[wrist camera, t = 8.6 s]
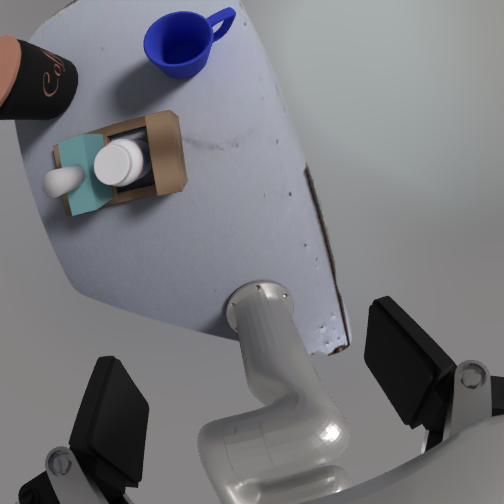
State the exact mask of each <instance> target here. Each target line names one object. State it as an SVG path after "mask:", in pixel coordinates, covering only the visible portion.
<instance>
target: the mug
mask: <svg viewBox="0 0 504 504" xmlns="http://www.w3.org/2000/svg"><path fill="white" fill-rule="evenodd" d="M235 16H236V12H235V11H234V10H233V9H232V8H230V7H228V8H226V9H223V10H221V11H219V12H217V13H215V14H213V15H211V16H210V17H208V18H207V19H205V18H204V17H203V16H201V15H199V14H197V13H193V12H187V11H180V12H174V13H170V14H168V15H165V16H163V17H161V18H160V19H158V20H157V21H156V22H154V23H153V24H152V25H151V27H150V28H149V29H148V31H147V33H146V35H145V38H144V51H145V53H146V55H147V57H148V58H149V59H150V60H151V61H152V62H153V63H154V64H155V65H157V66H158V67H159V68H160V69H161V70H163V71H164V72H165V73H166V74H167V75H169V76H171V77H174V78H180V79H183V78H189V77H192V76H194V75H196V74H197V73H199V72H200V71H201V70H202V69H203V68H204V66H205V65H206V62H207V60H208V56H209V53H210V49H211V46H212V43H213V42H215V41H217V40H218V39H220V38H221V37H223V36H224V35H225V34H226V33H227V31H228V30H229V28H230V27H231V25H232V23H233V21H234V18H235ZM223 20H224V21H223ZM221 21H223V24H222V25H221V27H220V28H219V29H218V30H217V31H216V32H215V33H214V34H213V29H212V27H213V26H214V25H216V24H217V23H219V22H221Z"/></svg>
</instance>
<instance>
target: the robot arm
mask: <svg viewBox="0 0 504 504" xmlns="http://www.w3.org/2000/svg"><path fill="white" fill-rule="evenodd" d="M257 285H258V286H257ZM293 311H294V303H293V299H292V297H291V295H290V293H289V291H288V290H287V289H286V288H285V287H283V286H282V285H280V284H278V283H276V282H272V281H264V280H261V281H254V282H251V283H248V284H246V285H244V286H242V287H241V288H239V289H238V290H236V291H235V293H234V294H233V295H232V296H231V297H230V299H229V301H228V304H227V307H226V316H227V321H228V323H229V325H230V327H231V328H232V329H233V330H234V331H235V332H237V333H238V336H239V342H240V347H241V352H242V358H243V364H244V369H245V374H246V379H247V384H248V387H249V389H250V391H251V392H252V394H253V395H254V396H255V397H256V398H257V399H258V400H259V401H260V402H262V403H263V404H264V405H266V407H263V408H260V409H257V410H254V411H250V412H246V413H243V414H239V415H234V416H230V417H226V418H222V419H218V420H214V421H212V422H209V423H207V424H206V425H204V426H203V427H202V428H201V429H200V431H199V433H198V438H197V445H198V452H199V456H200V459H201V462H202V465H203V467H204V469H205V472H206V474H207V476H208V478H209V480H210V482H211V484H212V486H213V488H214V490H215V492H216V494H217V496H218V498H219V500H220V502H221V504H504V377H498V376H490V373H489V370H488V369H487V367H486V366H484V365H483V364H482V363H481V362H479V361H475V360H467V361H464V362H462V363H461V364H459V365H458V366H457V365H456V364H455V362H453V360H452V359H451V358H450V357H449V356H448V355H447V354H446V353H445V352H444V351H443V350H442V348H441V347H440V346H439V345H438V344H437V343H436V342H435V341H434V340H433V339H432V338H431V337H430V336H429V335H428V334H427V333H426V332H425V331H424V330H423V329H422V328H421V327H420V326H419V325H418V324H417V323H416V322H415V321H414V320H413V319H412V318H411V317H410V316H409V315H408V314H407V313H406V312H405V311H404V310H403V309H402V308H401V307H400V306H399V305H398V304H397V303H396V302H395V301H394V300H393V299H392V298H391V297H389V296H385V297H382V298H379V299H376V300H374V301H373V304H372V305H371V306H370V307H369V316H368V327H367V337H366V345H365V353H364V359H365V363H366V365H367V366H368V368H369V369H370V371H371V372H372V374H373V375H374V377H375V378H376V380H377V382H378V383H379V385H380V386H381V387H382V389H383V391H384V392H385V394H386V395H387V397H388V399H389V400H390V402H391V404H392V405H393V407H394V408H395V410H396V412H397V413H398V415H399V416H400V418H401V420H402V421H403V423H404V424H405V425H408V424H409V425H410V427H411V429H414V428H416V427H417V426H419V425H421V424H423V426H424V427H425V429H426V432H425V437H424V441H423V446H422V450H421V454H420V455H419V456H417V457H416V458H414V459H412V460H410V461H408V462H406V463H404V464H402V465H400V466H398V467H396V468H395V469H392V470H390V471H388V472H386V473H384V474H382V475H380V476H377V477H375V478H373V479H370V480H368V481H366V482H363V483H361V484H358V485H356V486H354V485H353V482H352V480H351V478H350V476H349V474H348V473H347V472H346V471H345V470H344V469H343V468H342V467H340V466H336V465H327V466H321V465H324V464H326V463H328V462H330V461H331V460H333V459H335V458H336V457H338V456H339V455H340V454H341V453H342V452H343V451H344V450H345V449H346V447H347V446H348V444H349V441H350V428H349V424H348V422H347V419H346V417H345V415H344V414H343V412H342V410H341V409H340V407H339V406H338V405H337V403H336V402H335V401H334V399H333V398H332V397H331V395H330V394H329V392H328V391H327V389H326V388H325V386H324V385H323V383H322V381H321V379H320V377H319V376H318V374H317V372H316V370H315V367H314V365H313V363H312V361H311V359H310V357H309V354H308V352H307V350H306V348H305V346H304V343H303V341H302V339H301V337H300V335H299V332H298V330H297V328H296V326H295V324H294V322H293V319H292V315H293ZM148 415H149V405H148V403H147V401H146V400H145V398H144V397H143V395H142V394H141V392H140V391H139V389H138V388H137V387H136V385H135V384H134V382H133V380H132V379H131V377H130V376H129V374H128V373H127V371H126V370H125V368H124V367H123V365H122V363H121V361H120V360H118V359H116V358H115V357H114V356H104V357H99V358H98V360H97V362H96V365H95V367H94V370H93V372H92V375H91V377H90V380H89V383H88V385H87V388H86V391H85V394H84V396H83V399H82V402H81V405H80V408H79V411H78V414H77V417H76V420H75V423H74V426H73V430H72V433H71V436H70V440H69V445H70V449H68V448H67V447H62V446H61V447H56V448H54V449H52V450H51V451H50V452H49V453H48V455H47V457H46V460H45V468H46V471H45V472H43V473H41V474H40V475H38V476H37V477H35V478H34V479H32V480H31V481H29V482H27V483H26V484H24V485H23V486H22V487H21V489H20V490H19V495H18V496H19V503H20V504H134V503H133V502H132V501H131V500H130V498H129V497H128V496H127V494H126V493H125V487H136V488H138V482H140V481H141V479H142V471H143V460H144V449H145V440H146V431H147V423H148ZM319 466H321V467H319ZM316 467H317V468H316ZM313 468H314V469H313ZM19 503H18V502H16V503H15V504H19Z"/></svg>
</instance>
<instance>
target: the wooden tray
mask: <svg viewBox="0 0 504 504" xmlns="http://www.w3.org/2000/svg"><path fill="white" fill-rule="evenodd" d="M143 127H147V135H148V142H149V148H150V155H151V161H152V167H153V173H154V178H155V184H151V185H147V186H142V187H137V188H133V189H129V190H124V191H120V190H119V186H113V185H111V187H112V192H113V196H114V198H113V199H111V200H110V201H108V202H107V203H105V204H104V205H103V206H101V207H104V206H108V205H112V204H116V203H121V202H125V201H130V200H134V199H139V198H143V197H148V196H153V195H158V196H161V195H166V194H171V193H176V192H182V190H183V188H184V187H185V185H186V183H187V181H188V180H187V174H186V167H185V161H184V154H183V147H182V140H181V133H180V125H179V117H178V116H177V115H176V114H175V113H173V112H172V111H171V110H166V111H161V112H157V113H152V114H148V115H145V116H143V117H139V118H135V119H131V120H127V121H124V122H120V123H117V124H113V125H110V126H107V127H104V128H100V129H97V130H94V131H91V132H88V133H85V134H103V142H104V147H105V146H106V145H107V144H109V143H110V142H111V139H110V136H113V135H116V134H120V133H123V132H127V131H131V130H135V129H139V128H143ZM53 148H54V155H55V161H56V167H57V169H60V168H62V166H61V160H60V154H59V147H58V144H56V145H54V146H53ZM62 196H63V201H64V205H65V209H66V213H67V216H70V215H72V212H71V208H70V204H69V200H68V196H67V192H66V193H64V194H62Z"/></svg>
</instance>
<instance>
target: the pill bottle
mask: <svg viewBox="0 0 504 504" xmlns="http://www.w3.org/2000/svg"><path fill="white" fill-rule="evenodd" d="M151 168H152V161H151V155H150V148H149V144H148V143H146V142H145V141H142V140H138V139H117V140H114V141H112V142H110V143H109V144H107V145H106V146H105V147H104V148H103V149H101V150H100V151H99V152H98V154H97V156H96V158H95V161H94V171H95V174H96V176H97V178H98V179H99V180H100V181H101V182H102V183H104V184H107V185H113V186H125V185H128V184H130V183H132V182H134V181H136V180H138V179H140V178H141V177H143V176H145V175H146V174H147V173H148V172H149V171H150V170H151Z"/></svg>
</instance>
